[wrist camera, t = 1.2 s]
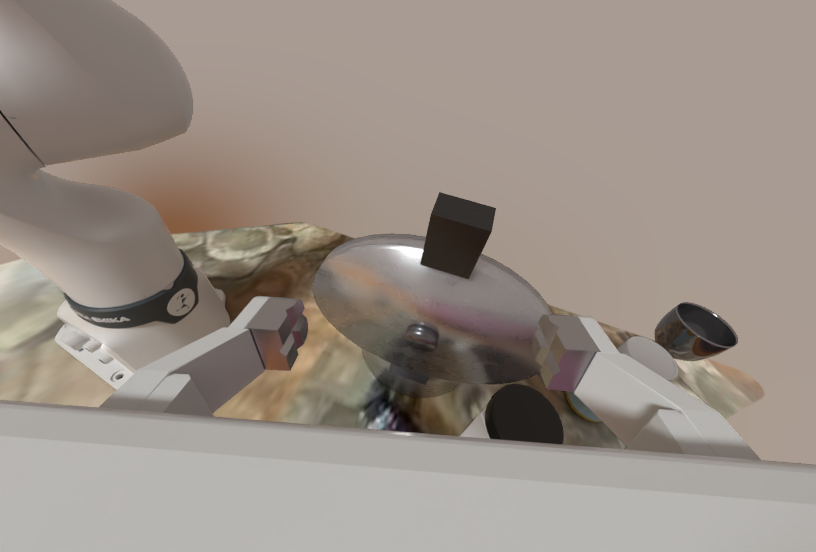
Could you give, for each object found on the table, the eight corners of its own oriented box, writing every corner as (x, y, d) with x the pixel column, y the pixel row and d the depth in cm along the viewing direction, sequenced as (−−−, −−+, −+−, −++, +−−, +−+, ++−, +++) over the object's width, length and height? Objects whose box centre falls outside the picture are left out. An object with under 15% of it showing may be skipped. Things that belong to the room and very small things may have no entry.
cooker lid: (333, 332, 36) (324, 349, 34) (285, 146, 16) (259, 170, 15) (498, 388, 34) (495, 409, 32) (677, 256, 14) (690, 295, 13)
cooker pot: (315, 373, 44) (307, 329, 35) (367, 280, 59) (371, 233, 50) (487, 434, 41) (523, 403, 33) (496, 320, 56) (522, 279, 48)
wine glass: (661, 399, 50) (746, 356, 39) (614, 377, 51) (683, 330, 41) (655, 362, 55) (728, 316, 44) (612, 343, 57) (672, 294, 46)
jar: (521, 428, 43) (564, 397, 34) (521, 493, 37) (572, 475, 28) (463, 408, 44) (491, 372, 35) (454, 468, 38) (485, 443, 29)
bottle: (611, 402, 48) (686, 359, 37) (598, 434, 44) (678, 395, 33) (571, 372, 51) (630, 324, 40) (556, 400, 47) (617, 354, 36)
